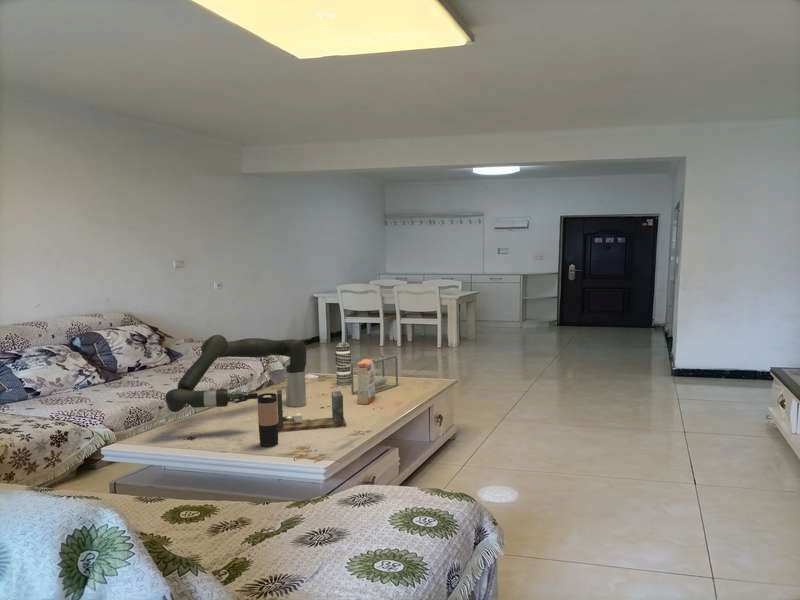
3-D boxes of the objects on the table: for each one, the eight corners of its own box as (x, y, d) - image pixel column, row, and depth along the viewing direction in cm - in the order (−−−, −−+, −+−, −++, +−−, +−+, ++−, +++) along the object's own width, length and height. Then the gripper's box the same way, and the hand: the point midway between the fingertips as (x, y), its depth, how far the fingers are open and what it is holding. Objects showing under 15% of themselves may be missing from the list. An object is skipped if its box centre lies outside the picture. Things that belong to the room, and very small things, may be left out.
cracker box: (369, 404, 302) (368, 363, 301) (357, 404, 303) (356, 363, 302) (376, 398, 316) (374, 358, 314) (364, 398, 317) (363, 358, 316)
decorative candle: (345, 388, 341) (344, 344, 339) (332, 387, 346) (331, 343, 344) (355, 385, 348) (354, 342, 346) (342, 383, 353) (341, 341, 351)
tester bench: (271, 432, 259) (270, 401, 258) (271, 425, 269) (270, 395, 268) (346, 426, 265) (345, 396, 264) (343, 419, 276) (342, 390, 275)
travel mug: (260, 442, 246) (258, 393, 244) (279, 441, 246) (277, 392, 245) (258, 448, 238) (255, 397, 237) (277, 447, 239) (275, 397, 237)
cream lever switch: (295, 422, 264) (295, 415, 264) (294, 418, 271) (294, 411, 271) (302, 421, 265) (302, 415, 265) (301, 417, 272) (301, 411, 272)
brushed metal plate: (278, 426, 260) (277, 394, 259) (278, 421, 269) (277, 390, 268) (294, 425, 261) (293, 393, 260) (294, 420, 270) (293, 389, 269)
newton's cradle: (366, 396, 320) (365, 363, 318) (351, 394, 325) (350, 362, 324) (398, 385, 345) (397, 354, 343) (383, 384, 350) (382, 353, 349)
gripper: (214, 392, 251) (256, 390, 255) (217, 386, 264) (257, 384, 268) (214, 410, 252) (257, 408, 255) (217, 403, 265) (258, 401, 268)
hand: (257, 395), depth 262 cm, fingers closed
